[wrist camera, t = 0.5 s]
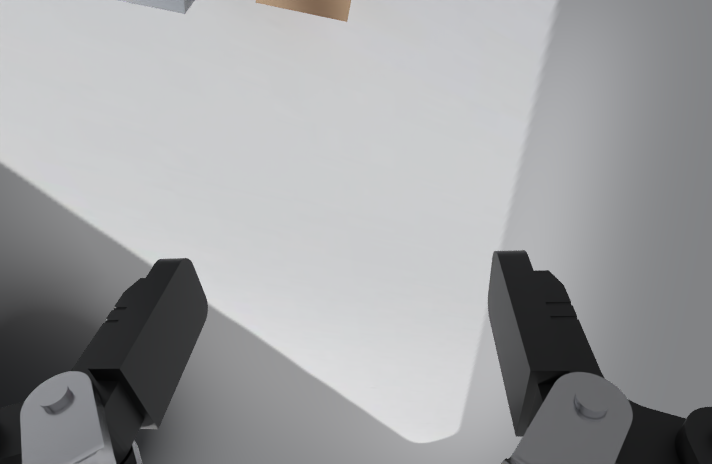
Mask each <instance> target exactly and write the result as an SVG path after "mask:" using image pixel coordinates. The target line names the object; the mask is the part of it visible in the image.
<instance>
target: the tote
mask: <svg viewBox="0 0 712 464" xmlns="http://www.w3.org/2000/svg"><path fill="white" fill-rule="evenodd" d="M119 1H124V2H129V3H134V4H139V5H144V6H149V7H154V8H159V9H164V10H168V11H173V12H178V13H183V14H185V13H186V11H187V10H188V9H189V7H190V6H191V5H192V3H193V2H194V0H119Z"/></svg>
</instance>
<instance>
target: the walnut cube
mask: <svg viewBox="0 0 712 464" xmlns="http://www.w3.org/2000/svg"><path fill="white" fill-rule="evenodd" d="M256 3H261V4H266V5H270V6H275V7H280V8H284V9H289V10H294V11H299V12H303V13H308V14H313V15H318V16H322V17H327V18H332V19H337V20H341V21H346V22H347V19H348V14H349V8H350V3H351V0H256Z"/></svg>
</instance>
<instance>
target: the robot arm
mask: <svg viewBox="0 0 712 464" xmlns="http://www.w3.org/2000/svg"><path fill="white" fill-rule="evenodd" d="M207 311H208V305H207V299H206V296H205V294H204V291H203V289H202V286H201V284H200V281H199V278H198V276H197V273H196V271H195V268H194V266H193V264H192V262H191V261H190V260H189V259H187V258H180V259H159V260H158V261H157V262H156V263H155V264H154V266H153V267H152V269H151V271H150V272H149V274H148V275H147V277H146V278H140V279H139V280H138V281H137V282H136V283H134V284H133V285H132V286H131V287H130V288H128V289H127V290H126V291H125V292H124V293H123V294H122V296H121V298H120V299H119V300H118V302H117V303H116V305H115V307H114V310H112V311H111V312H110V314H109V315H108V317H107V318H106V322H105V323H103V324H102V326H101V327H100V329H99V330H98V332H97V333H96V335H95V336H94V338H93V339H92V341H91V342H90V344H89V345H88V347H87V348H86V350H85V351H84V352H83V354H82V356H81V357H80V358H79V360H78V361H77V363H76V365H75V366H74V367H73V369H72V370H71V371H70V372H65V373H62V374H59V375H56V376H54V377H52V378H50V379H48V380H47V381H45V382H44V383H42V384H41V385H40V386H38V387H37V388H36V389H35V390H34V391H33V392H32V393H31V394H30V395H29V396H28V398H27V399H26V400H25V401H24V402H20V403H17V404H13V405H10V406H6V407H3V408H0V464H142V461H141V457H140V453H139V450H138V446H137V444H136V443H135V441H134V440H135V438H136V435H137V433H138V431H139V429H158V428H159V426H160V424H161V421H162V419H163V417H164V415H165V412H166V410H167V407H168V405H169V403H170V401H171V398H172V396H173V394H174V392H175V389H176V387H177V385H178V382H179V380H180V378H181V376H182V373H183V371H184V369H185V366H186V364H187V362H188V360H189V357H190V355H191V353H192V350H193V348H194V346H195V344H196V341H197V339H198V337H199V334H200V332H201V330H202V328H203V325H204V323H205V321H206V317H207ZM488 311H489V318H490V323H491V327H492V332H493V336H494V340H495V345H496V350H497V354H498V359H499V363H500V368H501V372H502V376H503V380H504V385H505V390H506V395H507V399H508V404H509V408H510V413H511V417H512V421H513V426H514V430H515V435H516V436H523V438H522V439H521V441H520V443H519V444H518V446H517V448H516V449H515V451H514V453H513V454H512V456H511V457H510V458H509V459H505V460H504V461H503V462H502V463H501V464H712V407H704V408H699V409H697V410H694V411H693V412H692V413H690V415H689V416H688V417H687V419H685V418H681V417H678V416H674V415H671V414H667V413H663V412H660V411H656V410H653V409H649V408H646V407H643V406H640V405H638V404H636V403H634V402H632V401H630V400H628V399H627V398H626V396H625V395H624V394H623V392H622V391H621V390H620V389H619V388H618V387H617V386H615V385H614V384H613V383H611V382H610V381H608V380H606V379H605V378H604V377H603V375H602V373H601V371H600V368H599V366H598V364H597V362H596V359H595V357H594V354H593V352H592V350H591V347H590V345H589V343H588V341H587V338H586V336H585V334H584V331H583V329H582V327H581V324H580V322H579V320H577V315H576V313H575V310H574V308H573V306H572V305H571V301H570V299H569V296H568V294H567V292H566V289H565V287H564V285H563V284H562V283H561V282H560V281H559V280H558V279H557V278H556V277H555V276H554V275H553V274H551V272H550V271H548V270H547V271H533V268H532V265H531V262H530V260H529V257H528V254H527V252H526V251H524V250H522V251H494V253H493V258H492V266H491V275H490V283H489V292H488Z"/></svg>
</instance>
